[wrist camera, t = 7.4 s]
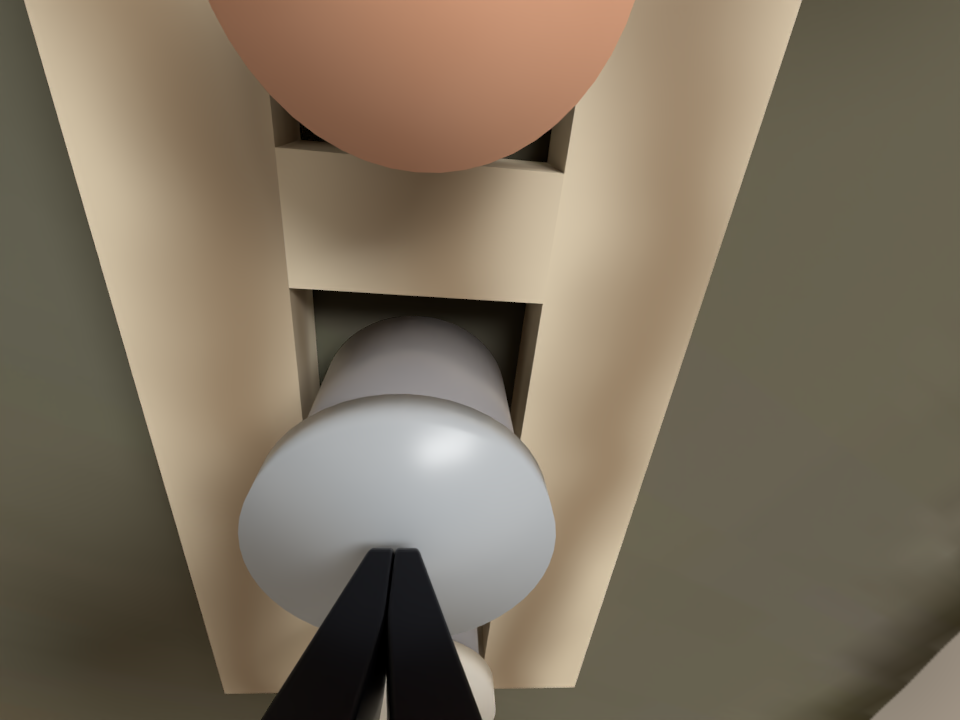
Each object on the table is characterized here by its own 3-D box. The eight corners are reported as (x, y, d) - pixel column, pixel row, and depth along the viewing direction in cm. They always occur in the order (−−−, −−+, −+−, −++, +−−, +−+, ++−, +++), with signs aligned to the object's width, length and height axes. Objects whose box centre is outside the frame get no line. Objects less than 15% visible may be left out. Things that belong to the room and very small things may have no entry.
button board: (243, 643, 21) (224, 693, 19) (-16, -461, 7) (-160, -637, 6) (563, 640, 22) (574, 687, 20) (833, -291, 9) (930, -388, 7)
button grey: (317, 473, 14) (259, 643, 10) (300, 293, 11) (211, 415, 7) (506, 478, 15) (532, 640, 10) (532, 307, 12) (582, 428, 8)
